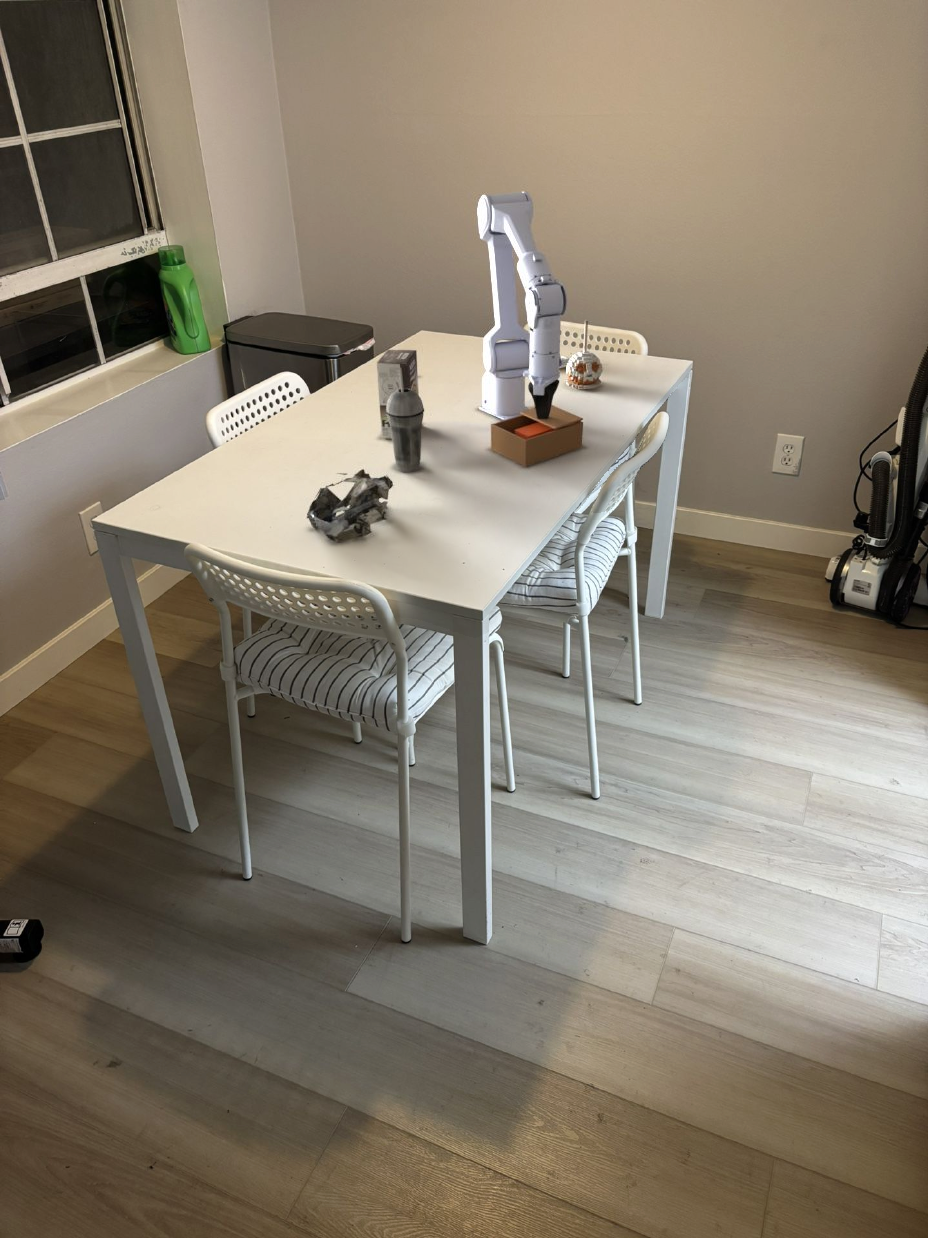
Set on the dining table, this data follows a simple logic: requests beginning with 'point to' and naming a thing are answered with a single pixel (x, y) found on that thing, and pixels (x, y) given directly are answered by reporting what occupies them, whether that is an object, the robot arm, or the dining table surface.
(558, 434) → the box
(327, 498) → the foil
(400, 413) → the beverage cup
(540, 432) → the block
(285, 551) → the dining table surface
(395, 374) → the coffee box
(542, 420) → the flap
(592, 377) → the decorative ornament
